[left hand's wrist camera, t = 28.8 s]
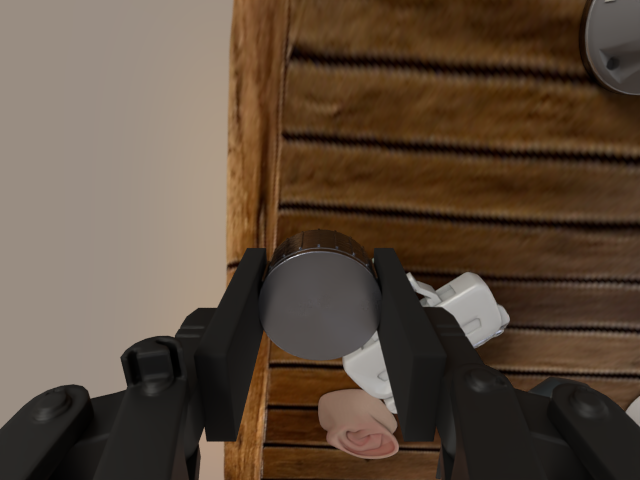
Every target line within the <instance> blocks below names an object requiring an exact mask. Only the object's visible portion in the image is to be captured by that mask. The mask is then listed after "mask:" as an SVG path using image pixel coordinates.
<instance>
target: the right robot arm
mask: <svg viewBox="0 0 640 480" xmlns="http://www.w3.org/2000/svg"><path fill="white" fill-rule="evenodd" d="M406 275H407V277H408V279H409V281H410V283H411V285H412V287H413V289H414V291H415V292H418V293H420V294H422V295H424V297H425V298H423V299H421V300H420V303H421V305H422V307H443V308H444V309H446V310H447V311H448V312H450V313H451V314H452V315H454V317H455V318H456V320H457V322H458V323H459V325H460V328H462V330H463V331H464V333H465V336H467V338H468V339H469V341H470V342H471V344H472V345H473V347H474V349H476V348H477V347H479V346H481V345H483V344H484V343H486V342H487V341H489V340H490V339H491V338H494V337H497V336H499V335H501V334H502V333H503V332H504V330H503V329H504V328H505V327H506V326H507V325H508V323H509V321H510V318H509V315H508V313H507V312H506V310H505V308H504V307H503V306H502V305H501V304H498V303H496V301H495V299H494V297H493V295H492V293H491V291H490V289H489V288H488V286H487V285H486V284H485V282H484V281H483V280H482V279H481V278H480V277H479V276H478V275H477V274H474V273H470V272H466V273H464V274H462V275H461V276H459V277H457V278H456V279H454V280H453V281H451V282H449V283H448V284H446V285H444V286H443V287H441V288H439V289H438V290H436V291H435V290H434V289H433V288H432V286H430V285H427V284H424V283H422V282H419V281H416V280H415V278H414V277H413V276H412V274H411V273H410V272H409V273H408V274H406ZM342 360H343V366H344V369H345V371H346V373H347V374H348V375H349V376H350V377H351V378H352V379H353V380H354V381H355V382H356V383H357V384H358V385H359V386H360V387H361V388H362V389H363V390H364V391H366V392H367V393H368V394H369V395H371V396H373V397H375V398H378V399H384V402H385V404H386V407H387V409H388V410H389V411H390V412H391V413H395V414H396V413H397V410H396V406H395V402H394V398H393V394H392V390H391V386H390V382H389V378H388V374H387V370H386V366H385V362H384V358H383V354H382V350H381V346H380V342H379V338H378V334H377V330H376V332H375V333H374V335H373V336H372V337H371V339H370V340H369V341H368V342H367V343H366V344H365V345H363V346H362V347H361V348H359V349H358V350H356V351H354V352H353V353H351V354H348V355H346V356H344V357H342ZM564 383H572V384H580V385H583V386H586V387H589V386H588V385H587V384H585V383H582V382H578V381H574V380H570V379H564V378H557V377H549V378H547V379H546V380H544V381H543V382H541V383H540V384H538V385H537V386H535V387H534V388H532V389H531V390H529V391H528V392H529V393H534V394H538V395H542V396H547V397H551V394H552V390H553V389H554V388H555V387H556V386H557V385H559V384H564ZM589 388H590V387H589ZM626 413H627V414H628V415H629V416H630V417H631V418H632V419H633V420H634V421H635V422H636V423H637V424H638V425H639V426H640V396H639V397H638V398H637V399H636V400H635V401H634V402H633V403H632V404H631V405H630V406H629V407H628V409H627V410H626ZM441 443H442V441H441Z"/></svg>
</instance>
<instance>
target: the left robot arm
mask: <svg viewBox="0 0 640 480" xmlns="http://www.w3.org/2000/svg"><path fill="white" fill-rule="evenodd" d="M579 45H580V52H581V57H582V60H583V63H584V66H585V68H586V70H587V71H588V73H589V74H590V76H591V77H592V78H593V79H594V81H595V82H596V83H598V84H599V85H600V86H602V87H603V88H605V89H607V90H609V91H611V92H614V93H618V94H623V95H640V0H587V2H586V5H585V8H584V11H583V15H582V19H581V24H580V32H579ZM373 264H374V267H375V270H376V273H377V276H378V283H379V286H380V289H381V293H382V308H381V321H380V324H379V326H378V328H377V334H378V338H379V342H380V346H381V350H382V354H383V358H384V362H385V366H386V370H387V374H388V378H389V382H390V386H391V390H392V394H393V398H394V402H395V406H396V410H397V414H398V418H399V422H400V426H401V430H402V435H403V439H404V441H434V435H435V428H436V427H437V429H438V432H439V435H440V438H441V441H442V443H441V449H440V455H439V461H438V467H437V474H436V478H437V479H442V480H640V426H639V425H638V424H637V423H636V422H635V421H634V420H633V419H632V418H631V417H630V416H629V415H628V414H627V413H626V412H624V411H623V410H622V409H621V408H620V407H619V406H618V405H617V404H616V403H615V402H614V401H612V400H611V399H610V398H609V397H607V396H606V395H604V394H602V393H600V392H598V391H596V390H594V389H592V388H589V387H586V386H583V385H580V384H572V383H564V384H559V385H557V386H556V387H555V388H554V389H553V390H552V394H551V397H547V396H542V395H538V394H534V393H529V392H525V391H522V390H518V389H515V388H513V386H512V385H511V383H510V381H509V380H508V378H507V377H505V376H504V375H503V374H502V373H500V372H499V371H497V370H495V369H493V368H491V367H489V366H486V365H484V363H483V361H482V360H481V358H480V357H479V355H478V353H477V352H476V350H475V349H474V347H473V345H472V344H471V342H470V341H469V339H468V338H467V336H465V333H464V331H463V330H462V328H460V325H459V323H458V322H457V320H456V318H455V317H454V315H452V314H451V313H450V312H448V311H447V310H446V309H444V308H443V307H422V305H421V303H420V301H419V299H418V297H417V295H416V293H415V291H414V289H413V287H412V285H411V283H410V281H409V279H408V277H407V275H406V273H405V271H404V269H403V267H402V265H401V263H400V261H399V259H398V257H397V255H396V253H395V251H394V249H393V248H374V262H373ZM266 265H267V258H266V248H247V249H246V251H245V253H244V255H243V257H242V259H241V261H240V263H239V265H238V267H237V269H236V271H235V273H234V275H233V277H232V279H231V281H230V283H229V285H228V287H227V289H226V291H225V293H224V295H223V297H222V299H221V301H220V304H219V305H218V307H217V308H198V309H196V310H195V311H194V312H192V313H191V314H190V315H188V316H187V317H186V319H185V320H184V322H183V323H182V325H181V327H180V329H179V330H178V331H177V333H176V335H175V338H174V337H171V336H156V337H151V338H147V339H144V340H142V341H140V342H137V343H135V344H134V345H132V346H131V347H130V348H128V349H127V350H126V351H125V352H124V353H123V355H122V356H121V362H122V366H123V370H124V374H125V378H126V383H127V389H126V390H124V391H120V392H117V393H113V394H109V395H105V396H100V397H96V398H92V399H90V396H89V393H88V391H87V390H86V389H85V388H84V387H83V386H79V385H74V384H73V385H64V386H59V387H56V388H53V389H50V390H47V391H45V392H44V393H42V394H40V395H38V396H36V397H34V398H33V399H32V400H31V401H29V402H28V403H27V404H25V405H24V406H23V407H22V408H21V409H20V410H19V411H18V412H17V413H16V414H15V415H14V416H13V417H12V418H11V419H10V420H9V421H8V422H7V423H6V424H5V425H4V426H3V427H2V428H1V429H0V480H199V469H200V459H201V456H200V449H199V440H200V437H201V435H202V432H203V429H204V427H205V433H206V440H207V441H236V439H237V435H238V431H239V427H240V423H241V419H242V415H243V411H244V407H245V403H246V399H247V395H248V391H249V387H250V383H251V379H252V375H253V371H254V367H255V363H256V359H257V355H258V351H259V347H260V343H261V339H262V334H263V330H264V329H263V327H262V325H261V323H260V318H259V305H258V295H259V292H260V288H261V285H262V282H261V280H262V277H263V274H264V271H265V268H266Z"/></svg>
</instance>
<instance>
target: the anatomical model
mask: <svg viewBox="0 0 640 480" xmlns="http://www.w3.org/2000/svg"><path fill="white" fill-rule="evenodd" d="M318 415H319V420H320V424H321V426H322V427H323V428H324V429H325V430H327V431H328V433H327V441H328V443H329V444H331V445H332V446H334V447H336V448H338V449H340V450H343V451H345V452H347V453H349V454H351V455H354V456H357V457H360V458H368V459H380V458H386V457H389V456H392V455H394V454H395V453H397V451H398V449H399V445H398V442H397V440H396V438H395V437H394V435H393V433H394V431H395V430H396V428H397V422H396V420H395V418H394V416H393V414H392V413H391V412H390V411H389V410H388V409H387V407H386V405H385V404H384V403H383V402H382V401H381V400H380V399H378V398H375V397H373V396H371V395H369V394H368V393H367V392H366V391H364V390H361V389H346V390H339V391H334V392H330V393H327V394H325V395H323V396H322V397H321V398H320V400H319V405H318Z"/></svg>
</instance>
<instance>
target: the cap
mask: <svg viewBox="0 0 640 480" xmlns="http://www.w3.org/2000/svg"><path fill="white" fill-rule="evenodd" d="M261 282H262V285H261V288H260V292H259V295H258V305H259V318H260V323H261V325H262V327H263V329H264V331H265V332H266V334H267V335H268V337H269V338H270V339H271V340H272V341H273V342H274V343H275V344H276V345H277V346H278V347H280V348H281V349H283V350H284V351H286V352H288V353H290V354H292V355H295V356H297V357H300V358H304V359H310V360H331V359H337V358H340V357H344V356H346V355H348V354H351V353H353V352H354V351H356V350H358V349H359V348H361V347H362V346H363V345H365V344H366V343H367V342H368V341H369V340H370V339H371V337H372V336H373V335H374V333H375V332H376V330H377V328H378V326H379V324H380V321H381V308H382V293H381V289H380V286H379V283H378V276H377V273H376V270H375V267H374V264H373V261H372V258H371V259H370V258H369V256H368V254H367V253H366V251H365V249H364V247H363V246H362V247H361V245H360V244H358V243H357V242H356V241H355V240H353V239H352V237H348V236H346V235H344V234H342V233H339V232H337V231H335V230H334V231H331V230H320V229H318V230H310V231H305V232H303V231H302V232H301V233H299V234H296V235H294V236H292V237H290V238H287V239H286V241H285V242H283V243H282V244H281V245H280V246H279V247H278V248H276V249H275V251H274V254H273V255H272V257H271V259H270V261H268V262H267V265H266V268H265V271H264V274H263V277H262V280H261Z"/></svg>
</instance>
